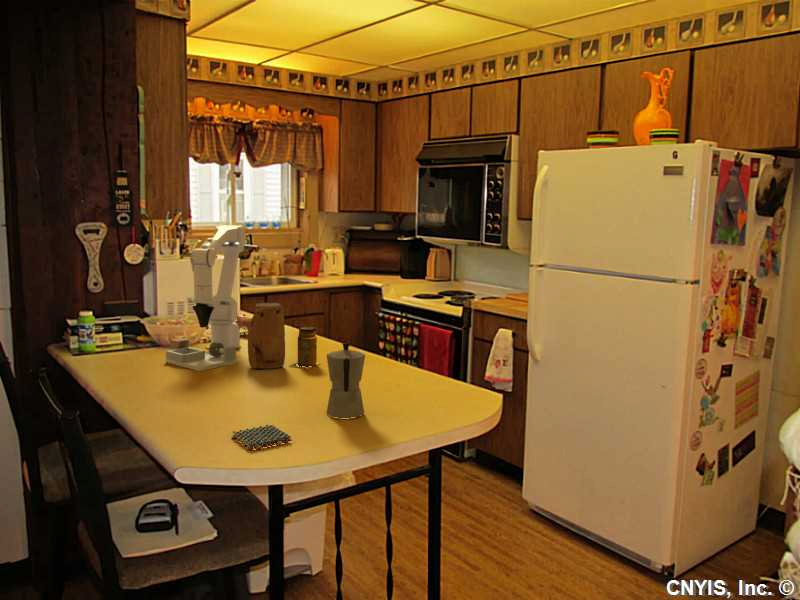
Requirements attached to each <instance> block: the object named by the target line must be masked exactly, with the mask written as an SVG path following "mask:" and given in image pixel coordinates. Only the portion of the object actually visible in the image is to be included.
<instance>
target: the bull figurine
mask: <svg viewBox="0 0 800 600" xmlns="http://www.w3.org/2000/svg"><path fill="white" fill-rule="evenodd" d="M242 313H243V312H241V311H239V312H237V319H236V323H237V324H238V326H239V330H240V331H241V329H242V330H243V331H244V330H245V331H248V327H249V325H250V323H251V320H252V317H247V316H246V314H245V313H243V314H242ZM246 337H247V338H248V335H247V336H246Z"/></svg>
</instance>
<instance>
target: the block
mask: <svg viewBox="0 0 800 600" xmlns="http://www.w3.org/2000/svg"><path fill="white" fill-rule="evenodd" d="M251 318H252V320H251V323H250V325H249V327H248V330H247V336H248V337H247V354H248V355H247V356H248V359H247V360H248V364H249V366H250V368H251V369H256V370H257V369H264V370H266V369H278V368H281V367H284V365H285V361H286V329H285V328H286V327H285V317H284V308H283V306H282V305H281V304H280V303H277V302H271V303H270V302H269V303H267V302H260V303H256V304H255V306H254V314H253V316H252V317H251Z"/></svg>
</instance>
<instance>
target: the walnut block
mask: <svg viewBox="0 0 800 600" xmlns="http://www.w3.org/2000/svg"><path fill="white" fill-rule="evenodd" d="M169 345H170V346H169V350H174V349H179V348H185V347H190V340H189V338H188V339H187V338H183V337H176V338H172V339H170V338H169Z"/></svg>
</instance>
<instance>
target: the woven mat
mask: <svg viewBox="0 0 800 600" xmlns="http://www.w3.org/2000/svg"><path fill="white" fill-rule="evenodd" d="M232 433H233V434H232V435H231V439H232V438H236V440H235V439H234V441H235V442H236V441H240V442H242V443H241V444H242V445H241V446H242V447H243V446H244V447H245V446H247V447H246V448H245V450H247V449H250V450H253V449H254V448H255V449H260V450H262V449H261V448H263V447H264V446H265V447H268V446H271V444H272V445H275V444H276V445H278V444H281V443H285V442H286V443H288V441H293V440H292V439H293V437H292V436H291V435H289V434H288V433H287V432H284V431H283V430H281V429H279V428H278V427H276V426H275V425H273V424H272V425H269V424H266V425H265V426H262V425H260V426H258V427H252V429H251V428H250V429H249V428H246V429H245V430H242V429H240V430H239V431H235V430H233V431H232ZM274 443H275V444H274ZM262 444H263V445H262ZM267 445H268V446H267ZM278 446H279V445H278ZM253 447H254V448H253Z"/></svg>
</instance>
